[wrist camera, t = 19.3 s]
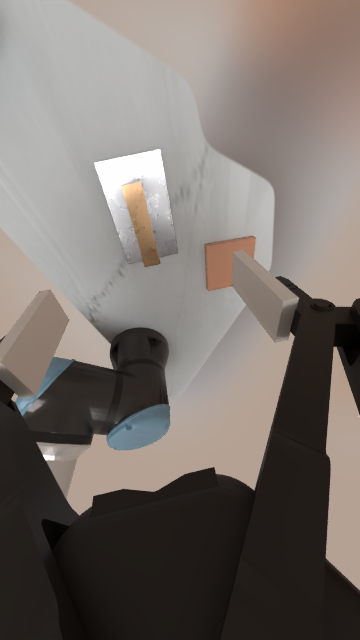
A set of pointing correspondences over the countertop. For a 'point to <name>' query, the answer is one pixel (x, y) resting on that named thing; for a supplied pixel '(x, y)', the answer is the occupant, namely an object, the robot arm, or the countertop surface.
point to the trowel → (139, 205)
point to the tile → (224, 260)
